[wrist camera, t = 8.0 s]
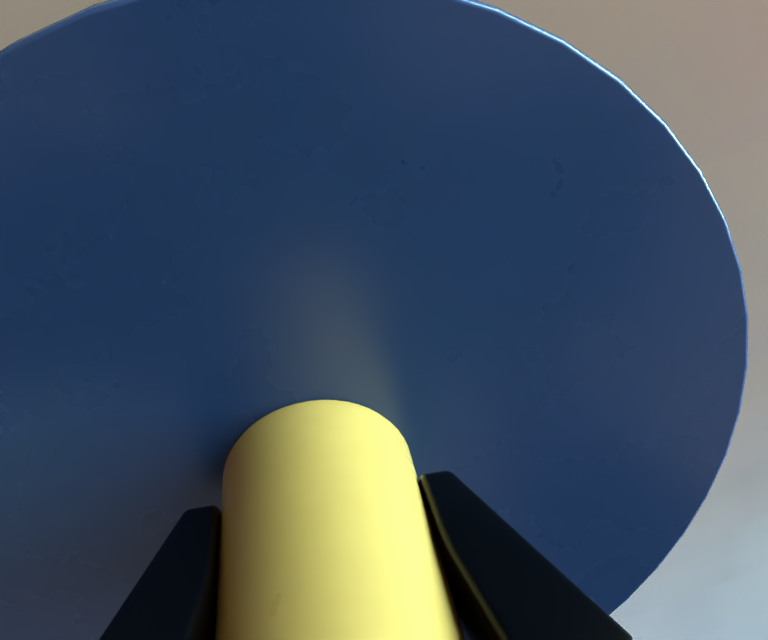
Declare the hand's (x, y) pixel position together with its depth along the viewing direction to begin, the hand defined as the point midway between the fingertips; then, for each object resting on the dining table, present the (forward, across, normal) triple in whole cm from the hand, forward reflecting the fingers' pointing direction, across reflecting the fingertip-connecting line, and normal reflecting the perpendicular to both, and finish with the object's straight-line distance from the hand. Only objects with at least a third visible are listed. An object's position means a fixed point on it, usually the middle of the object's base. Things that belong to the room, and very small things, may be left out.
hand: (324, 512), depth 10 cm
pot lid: (+1, 0, 0) cm, 1 cm away
